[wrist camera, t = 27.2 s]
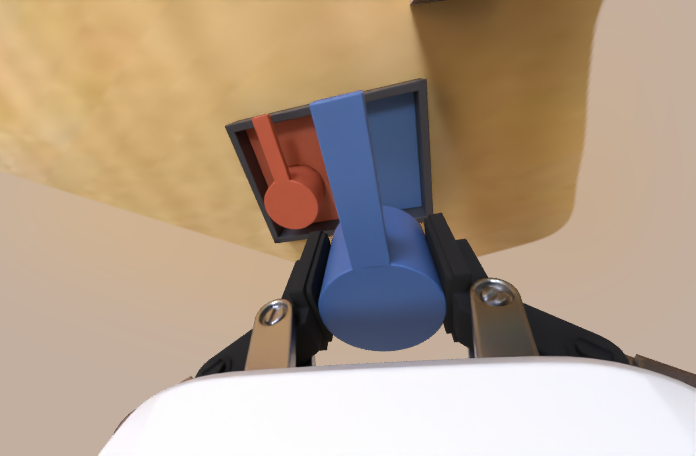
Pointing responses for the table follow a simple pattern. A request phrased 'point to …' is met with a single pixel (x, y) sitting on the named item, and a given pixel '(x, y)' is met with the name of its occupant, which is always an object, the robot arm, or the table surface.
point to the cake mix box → (423, 1)
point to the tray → (388, 147)
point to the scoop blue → (371, 244)
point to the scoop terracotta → (288, 182)
